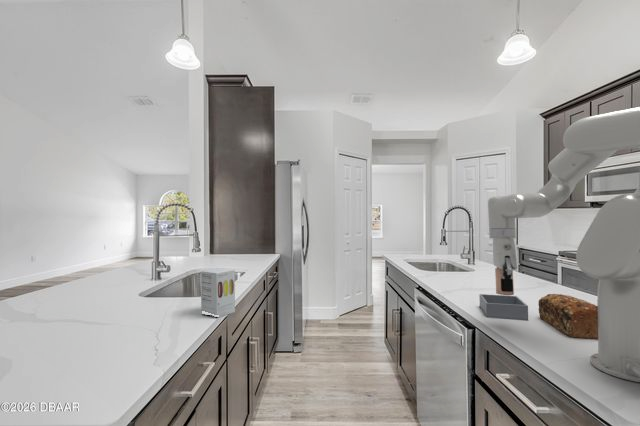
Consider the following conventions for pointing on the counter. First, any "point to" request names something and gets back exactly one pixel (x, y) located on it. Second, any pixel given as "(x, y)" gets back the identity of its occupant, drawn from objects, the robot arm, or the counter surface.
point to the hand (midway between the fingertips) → (504, 288)
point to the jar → (498, 282)
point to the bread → (570, 315)
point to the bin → (503, 307)
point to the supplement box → (218, 291)
